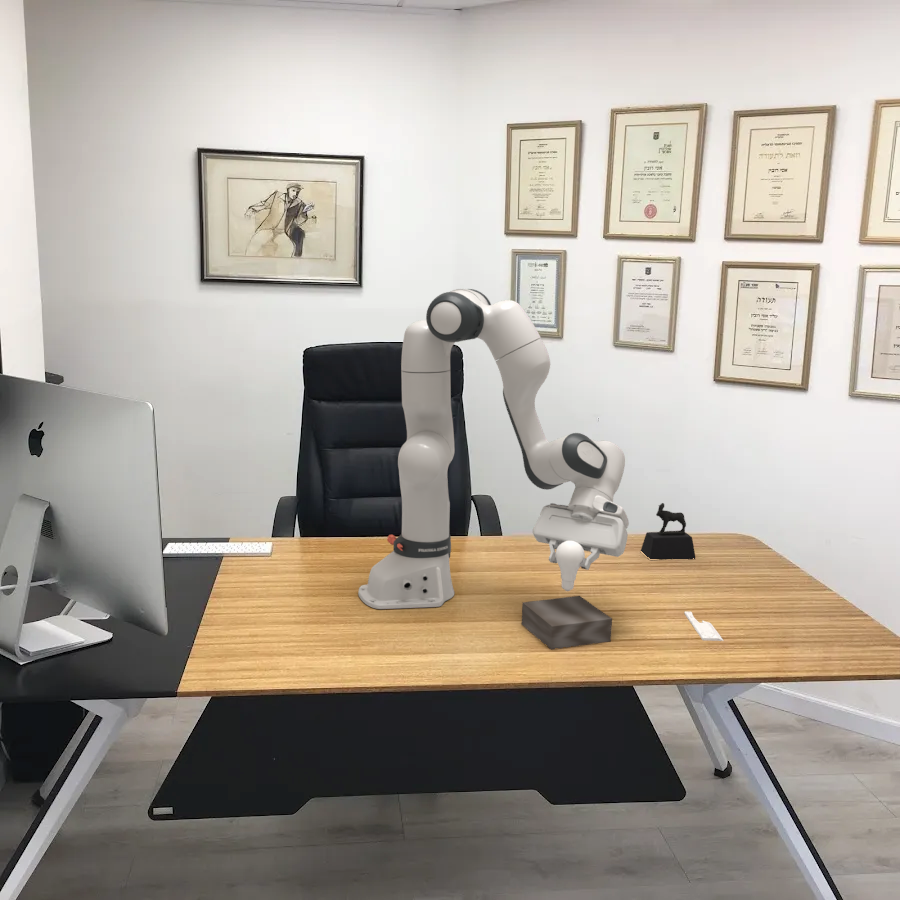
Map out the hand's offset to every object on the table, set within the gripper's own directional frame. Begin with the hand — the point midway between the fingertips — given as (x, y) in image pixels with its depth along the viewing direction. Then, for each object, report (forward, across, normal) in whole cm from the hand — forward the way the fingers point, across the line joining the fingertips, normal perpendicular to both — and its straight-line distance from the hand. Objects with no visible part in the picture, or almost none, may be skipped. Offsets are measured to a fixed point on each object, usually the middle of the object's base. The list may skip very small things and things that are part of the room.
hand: (568, 564), depth 195 cm
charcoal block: (+10, 0, +11) cm, 15 cm away
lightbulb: (+4, 0, +5) cm, 6 cm away
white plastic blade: (-4, +24, +26) cm, 36 cm away
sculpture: (-35, +1, +58) cm, 67 cm away
